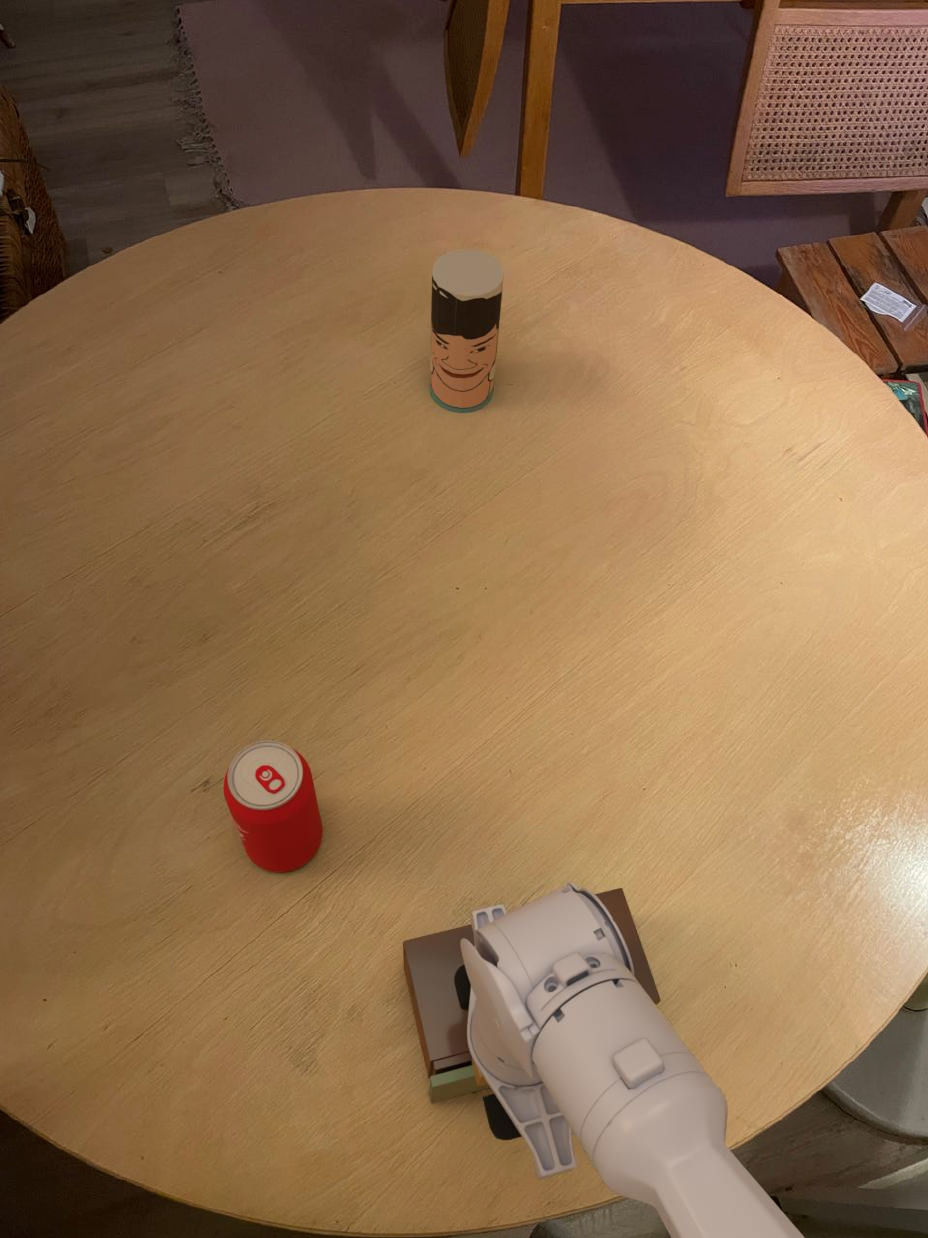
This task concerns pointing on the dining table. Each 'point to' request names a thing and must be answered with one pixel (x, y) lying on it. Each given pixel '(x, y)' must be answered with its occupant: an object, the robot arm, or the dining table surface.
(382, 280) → the dining table surface
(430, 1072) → the cabinet
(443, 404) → the tan and black cylinder
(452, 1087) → the green drawer
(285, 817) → the beverage can
